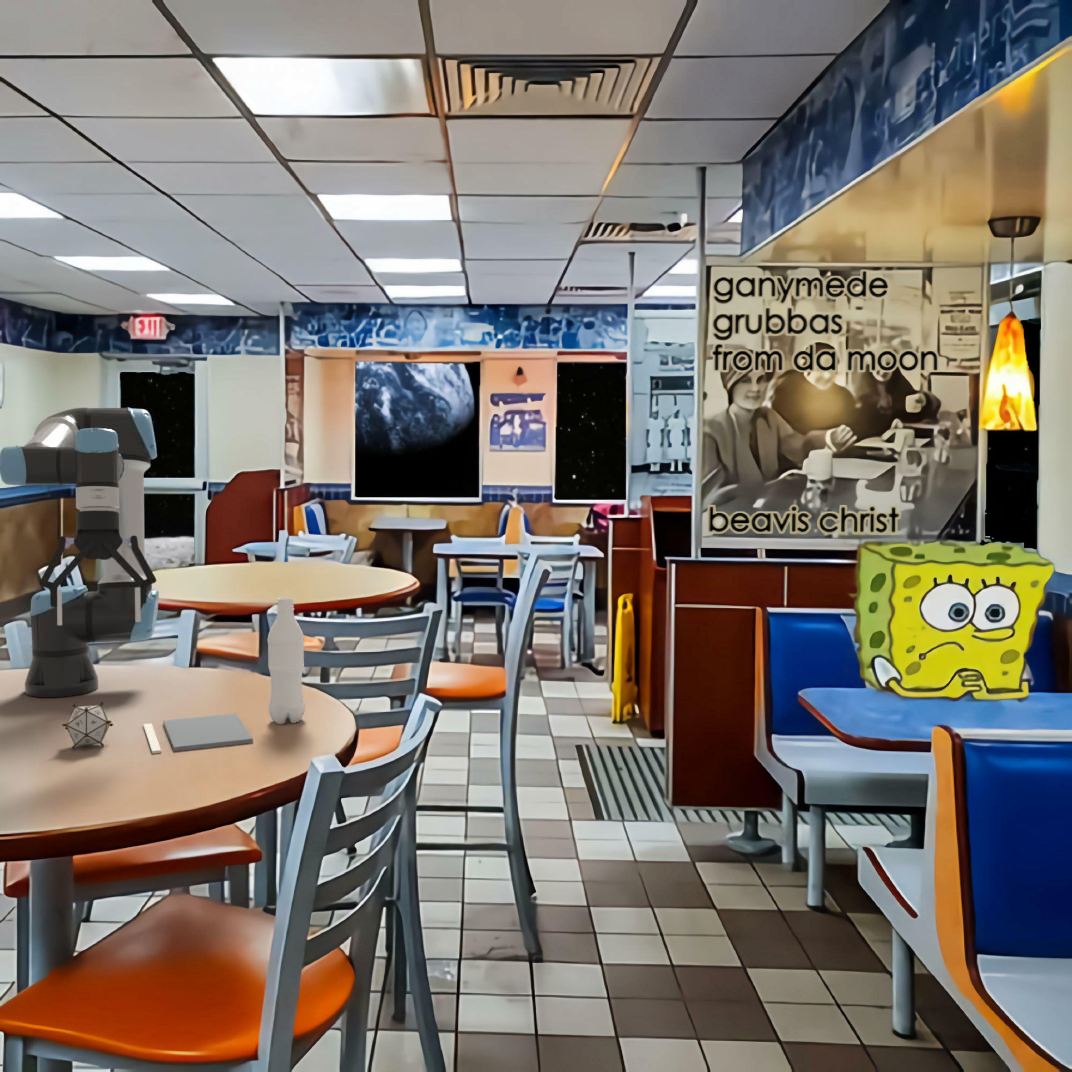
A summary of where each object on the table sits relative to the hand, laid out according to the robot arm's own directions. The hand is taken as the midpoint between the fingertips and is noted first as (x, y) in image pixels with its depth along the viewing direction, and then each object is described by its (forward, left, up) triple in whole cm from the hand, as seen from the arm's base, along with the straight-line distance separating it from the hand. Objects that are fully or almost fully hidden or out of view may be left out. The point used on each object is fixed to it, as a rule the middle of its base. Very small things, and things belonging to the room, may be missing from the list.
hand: (99, 623), depth 198 cm
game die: (+5, -3, -22) cm, 23 cm away
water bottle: (+2, +34, -22) cm, 41 cm away
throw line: (+5, +8, -22) cm, 24 cm away
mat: (+5, +18, -22) cm, 29 cm away
